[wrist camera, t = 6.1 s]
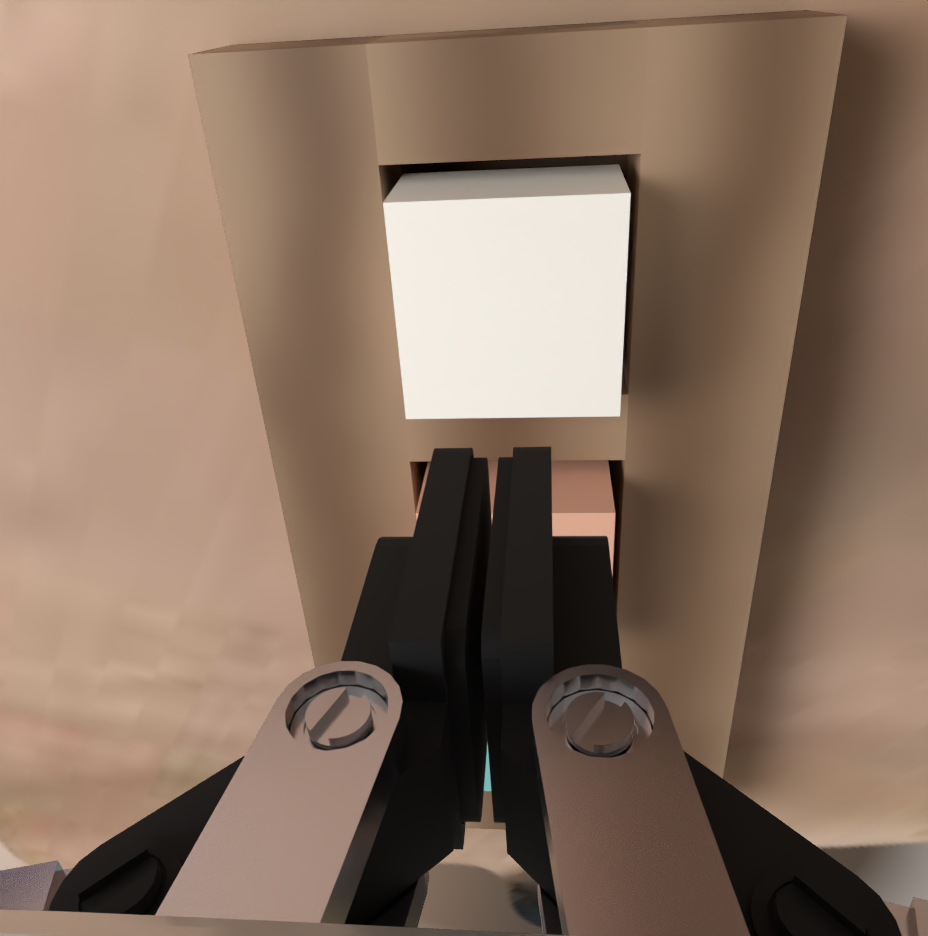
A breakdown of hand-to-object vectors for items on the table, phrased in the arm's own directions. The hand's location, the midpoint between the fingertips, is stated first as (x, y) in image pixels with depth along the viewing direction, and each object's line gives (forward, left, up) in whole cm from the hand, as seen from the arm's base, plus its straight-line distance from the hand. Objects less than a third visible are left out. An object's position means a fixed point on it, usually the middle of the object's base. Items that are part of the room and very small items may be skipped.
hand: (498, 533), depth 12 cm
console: (0, +8, -13) cm, 15 cm away
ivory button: (0, 0, -11) cm, 11 cm away
